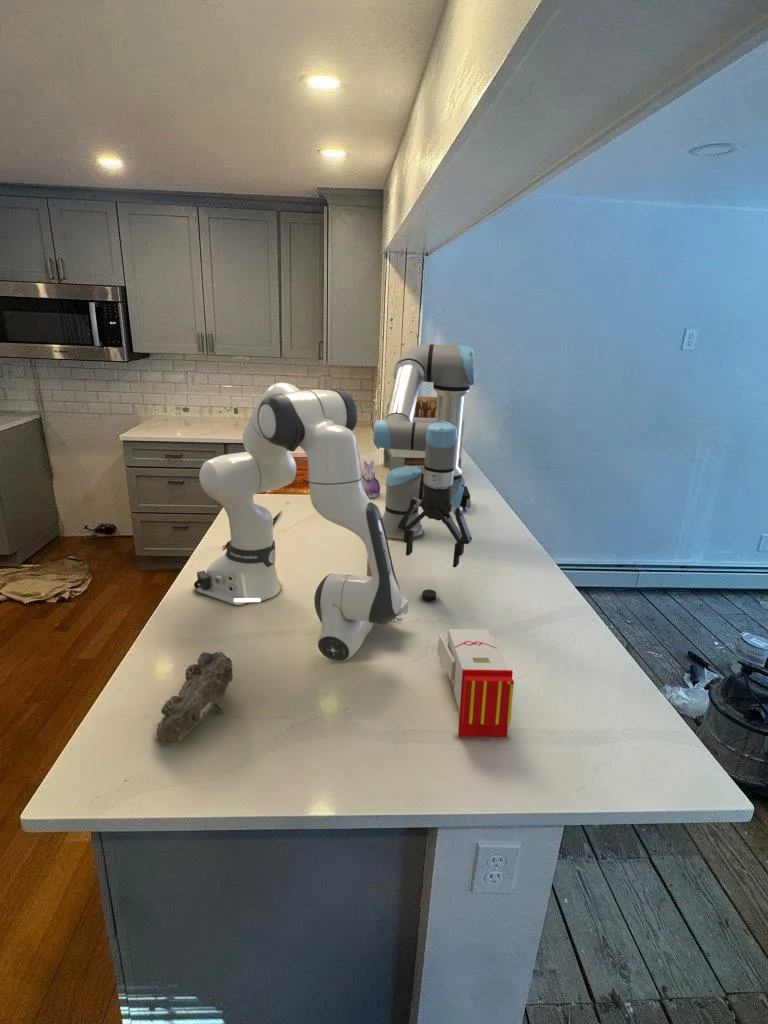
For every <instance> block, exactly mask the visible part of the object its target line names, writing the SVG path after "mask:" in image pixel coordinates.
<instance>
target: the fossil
mask: <svg viewBox="0 0 768 1024" xmlns="http://www.w3.org/2000/svg"><path fill="white" fill-rule="evenodd" d="M196 662H197V663H193V664H189V665H188V666H187V668H186V669H185V673H184V676H185V677H184V678H185V681H184V683H183V684H182V685H181V688H180V690H179V692H178V695H173V696H172V697H170V699H168V700H166V701H165V703H164V704H163V705H162V707H161V710H160V712H161V714H162V715H163V718H162V719H161V721H159V722H158V723H157V728H156V732H155V733H156V736H157V740H162V741H163V742H164V743H170V742H174V741H181V740H182V739H183V738H184V737H185V736H186V735H187V734H188V733H189V732H191V731H192V730H193V729H194V728H195V727H196V726H197V725H198V724H199V723H200V722H201V721H202V720H203V719H205V718H206V716H207V715H208V712H209V711H210V710H212V709H213V707H215V708H216V709H217V711H221V710H222V707H220V705H218V704H217V701H218V700H219V699H221V698H222V697H223V696H224V695H225V693H226V689H228V687H229V685H230V683H231V682H233V680H234V679H233V678H234V674H233V671H234V670H233V662H232V659H231V658H230V657H228V656H227V655H226V653H224V652H223V651H216V652H215V651H214V652H212V653H211V652H206V651H204V652H203V651H202V652H201V653H200V654H199V656H198V658H197V661H196Z"/></svg>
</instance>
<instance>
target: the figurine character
mask: <svg viewBox="0 0 768 1024" xmlns="http://www.w3.org/2000/svg"><path fill="white" fill-rule="evenodd" d="M471 501H472V500H471V494H470V491H469V488H468V486H467V485H464V490H463V495H462V499H461V503H460V505H459V506H462V507H463V513H466V512H467V509H470V508H471V505H472V504H471ZM466 508H467V509H466Z"/></svg>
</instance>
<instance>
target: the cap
mask: <svg viewBox="0 0 768 1024" xmlns="http://www.w3.org/2000/svg"><path fill="white" fill-rule="evenodd" d="M421 600H422V601H423V602H426V603H433V602H436V600H437V592H436V591H435V590H434V589H430V588H429V589H424V590H422V593H421Z"/></svg>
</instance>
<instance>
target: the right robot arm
mask: <svg viewBox="0 0 768 1024" xmlns="http://www.w3.org/2000/svg"><path fill="white" fill-rule="evenodd" d="M474 352H475V351H474V349H473V348H472V347H470V346H466V345H465V346H464V345H459V344H432V343H423V344H418V345H415V346H413V347H411V348H410V349H408V350H407V351H405V352H404V353H403V354H402V355H401V356H400V357H399V359H398V360H397V361H396V363H395V365H394V369H393V378H394V382H393V386H392V390H391V394H390V398H389V401H390V402H388V403H389V405H388V404H387V405H388V409H387V408H386V412H387V413H385V418H383V419H377V420H376V421H375V423H374V425H373V432H372V433H373V436H372V437H373V445H374V447H376V448H381V449H384V448H387V449H399V450H414V451H425V466H423V467H424V468H423V472H422V469H421V468H420V467H419V466H418V467H417V466H404V467H400V468H396V469H393V470H391V471H390V470H389V471H388V473H387V475H386V482H385V504H384V505H385V507H384V508H385V509H384V513H383V515H382V520H383V523H384V528H385V532H386V536H387V539H389V540H395V541H403V542H404V543H405V556H407V557H409V556H411V554H412V553H413V547H414V540H415V539H418V538H420V537H421V536H422V535H423V525H422V524H421V521H422V520H424V518H425V517H427V518H428V520H429V519H430V520H435V521H439V522H441V521H442V523H443V525H445V526H446V528H447V529H448V531H449V533H450V534H451V536H452V537H453V538H454V540H455V541H456V542H455V544H454V550H453V561H452V568H454V569H456V568H457V566H459V564H460V557H461V556H463V554H464V552H465V545H469V544H470V543H471V542H472V541H473V537H472V535H471V532H470V529H469V526H468V524H467V521H466V518H465V516H464V508H463V507H462V506H459V505H460V503H461V499H462V495H463V490H464V486H466V485H465V484H466V477H465V476H464V475H463V474H462V473H463V471H462V468H461V469H460V468H459V467H458V459H459V447H460V439H461V438H460V436H461V425H462V419H463V414H464V413H463V412H464V403H465V395H467V394H468V393H469V392H470V388H471V386H474V385H475V383H476V381H475V379H476V378H475V353H474ZM423 383H433V384H432V389H433V390H434V391H435V393H436V397H437V407H436V421H435V423H433V424H432V423H417V422H412V421H413V416H414V410H415V405H416V400H417V396H418V394H419V390H420V386H421V385H422V384H423ZM302 482H303V483H305V484H307V485H309V480H306V479H305V478H302ZM420 507H421V509H422V512H420V514H419V508H420ZM451 512H452V514H453V516H454V517H455V520H456V523H457V524H456V523H455V521H454V520H453V517H452V515H451V514H450V513H451Z"/></svg>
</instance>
